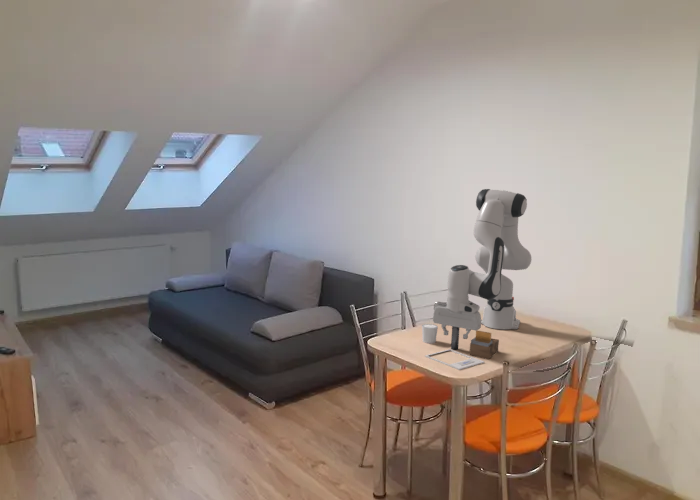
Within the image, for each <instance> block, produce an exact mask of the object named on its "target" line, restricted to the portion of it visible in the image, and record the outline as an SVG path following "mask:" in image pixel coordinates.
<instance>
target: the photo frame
mask: <svg viewBox="0 0 700 500" xmlns="http://www.w3.org/2000/svg"><path fill="white" fill-rule="evenodd" d="M449 351H451V352H452V353H455V354H457V355H459V354H460V356H463V357H465V358H468V359H465V360H460V361H457V362H453V363H447V362H445V361H442V360H440V359H437V358H435V357H431V356H433V355H437V354H440V353H444V352H449ZM424 357H425V358H427V359H430V360H432V361H435V362H437V363H440V364H442V365H445V366H448V367H450V368H452V369H456V370H458V371H461V370H464V368H465V369H467V368H472V367H474V365H475V366H479V365H481V363H482V364H485V361H484V360H481V359H479V358H475V357H474V356H471V355H467V354H465V353H461V352H459V351H457V350H452V349H451V348H450V349H446V350H445V349H444V350H441V351H438V352H433V353H430V354H425V355H424ZM470 358H471V359H470ZM478 364H479V365H478ZM471 366H472V367H471Z"/></svg>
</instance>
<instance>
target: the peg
mask: <svg viewBox="0 0 700 500" xmlns="http://www.w3.org/2000/svg"><path fill="white" fill-rule="evenodd" d="M450 341H451V342H450V343H451V344H450V349H451V350H454V351H458V350H459V345H460V344H459V343H460V328H459V327H454V326H451V340H450Z"/></svg>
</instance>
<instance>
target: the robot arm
mask: <svg viewBox="0 0 700 500" xmlns="http://www.w3.org/2000/svg"><path fill="white" fill-rule="evenodd" d="M475 206H476V208H477V210H478V215H477V217H476V220H475V223H474V227H473V236H474V238H475V241H477V243H479V244H480V245H481V246H480V247H479V248H478V249H477V250H476V252H475V256H474V257H475V261H476V264H477V265H478V266H479V267H480V268H481V269H482V270H483V271H484V273H479V272H475V271H473V270H471V269H470V268H469V266H468V265H464V264H458V265H457V264H456V265H453V266H451V268H450V269H449V272H448V276H447V291H448V292H447V295H446V302H443V301H437V302H434V303H433V314H432V322H433V323H434V324H437V325H438V324H439V325H441V328H442V331H443V336H449V333H450V332H449V330H448V329H447V328H446V327H447V326H450V327H452V326H454V327H459V329H460V328H461V329H465V331H466V333H463V334H462V339H464V340H467V339H468V338H469V334H470V333H471V331H477V330H478V331H479V330H480V329H481V327H482V325H483V326H485V327H487V328H490V329H495V330H518V329H519V328H520V324H521V321H520V319H517V311H516V309H515V307H514V301H515V297H514V296H513V294H514V293H513V292H514V283H513V280H512V279H510V278H509V277H508V276H506V275H504V274H502V270H508V271H522V270H527V269H528V268H529V267H530V265H531V263H532V255H531V252H530V251H529V250H528V249H527V248H526V247H525V246H523V244H522V243H521V241H520V240H519V234H518V233H519V230H518V227H519V218H520V217H522V216H523V215H524V214H525V213H526V211H527V207H528V201H527V198H526V196H525V195H523V194H521V193H518V192H517V193H516V192H512V191H508V190H504V189H503V190H501V189H500V190H499V189H490V188H484V189H482V190H480V191H479V192H478V194H477V196H476V201H475ZM469 295H471V296H476V297H479V298H481V299H485V300H486V301H487V302H486V303H487V305H485V306H484V308H483V313H482V316H481V313H480V307H481V306H480V305H478V304H477V303H474V302H473V301H470V300H469V298H470V297H469Z"/></svg>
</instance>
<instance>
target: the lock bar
mask: <svg viewBox="0 0 700 500" xmlns="http://www.w3.org/2000/svg"><path fill="white" fill-rule="evenodd" d="M491 338H492V332H488V331H482V330H479V329H478V330H475V337H473V338H472V339H470V343H471V344H476V345H481V346H486V347H489V346H490V345H491V344H492V340H491Z"/></svg>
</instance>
